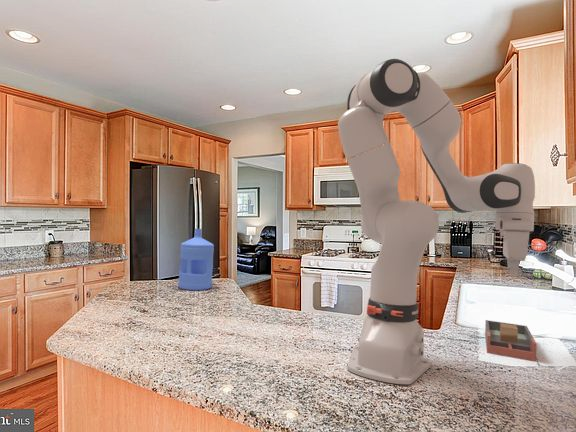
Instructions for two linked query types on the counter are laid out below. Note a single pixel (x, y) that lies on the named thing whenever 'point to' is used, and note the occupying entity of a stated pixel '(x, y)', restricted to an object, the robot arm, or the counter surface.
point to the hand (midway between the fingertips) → (512, 275)
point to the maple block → (508, 333)
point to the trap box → (521, 349)
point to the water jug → (196, 263)
